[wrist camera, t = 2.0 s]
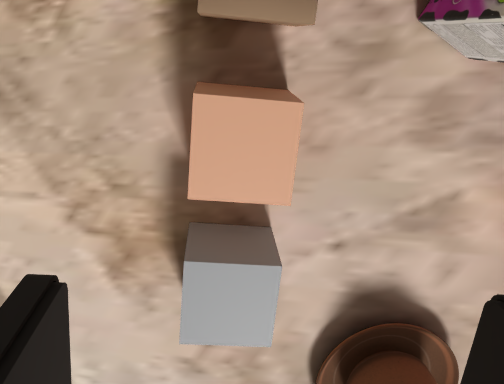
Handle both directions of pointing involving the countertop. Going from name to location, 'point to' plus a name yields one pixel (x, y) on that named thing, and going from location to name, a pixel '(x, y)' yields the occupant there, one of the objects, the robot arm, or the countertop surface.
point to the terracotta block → (243, 144)
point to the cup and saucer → (390, 358)
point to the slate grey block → (229, 285)
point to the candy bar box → (468, 26)
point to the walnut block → (262, 11)
